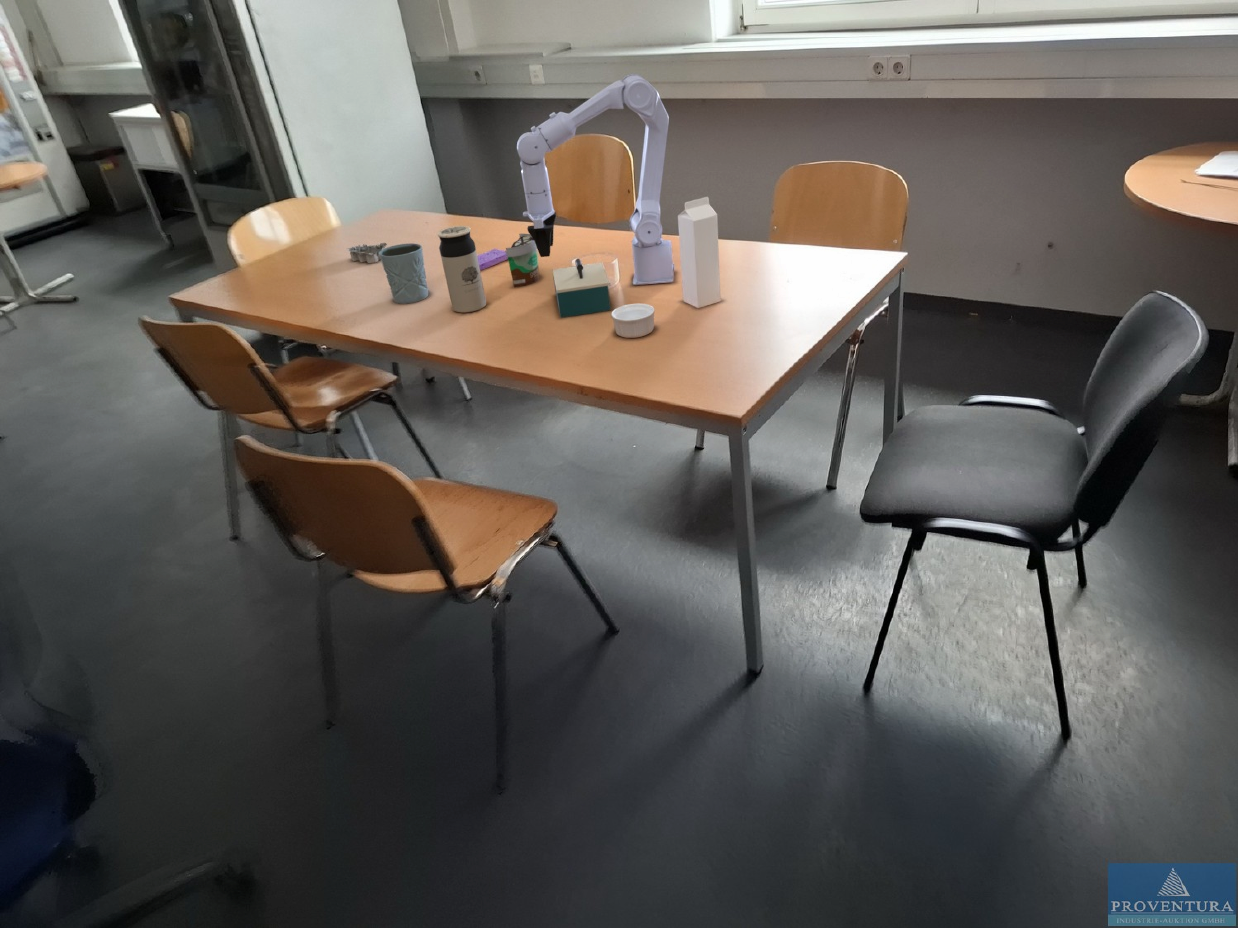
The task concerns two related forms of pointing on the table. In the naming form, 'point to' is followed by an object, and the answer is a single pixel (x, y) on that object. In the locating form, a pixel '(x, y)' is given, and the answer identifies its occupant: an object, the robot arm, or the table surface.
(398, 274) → the blue embossed cup
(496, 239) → the table surface
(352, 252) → the egg carton
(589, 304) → the cool box
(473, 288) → the travel mug
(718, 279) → the milk
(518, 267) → the food container
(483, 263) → the sponge
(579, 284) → the lid
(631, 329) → the ramekin
